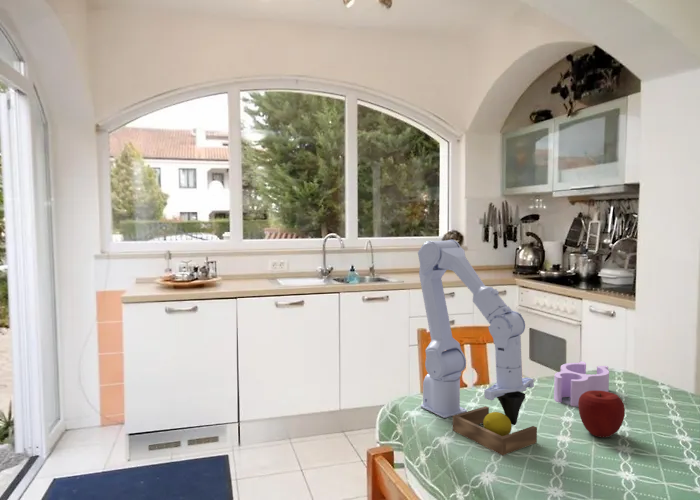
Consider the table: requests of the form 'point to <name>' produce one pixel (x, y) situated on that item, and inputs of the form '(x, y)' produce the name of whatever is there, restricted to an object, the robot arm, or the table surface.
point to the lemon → (497, 423)
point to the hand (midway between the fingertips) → (511, 423)
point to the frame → (501, 444)
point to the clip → (579, 381)
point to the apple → (601, 412)
